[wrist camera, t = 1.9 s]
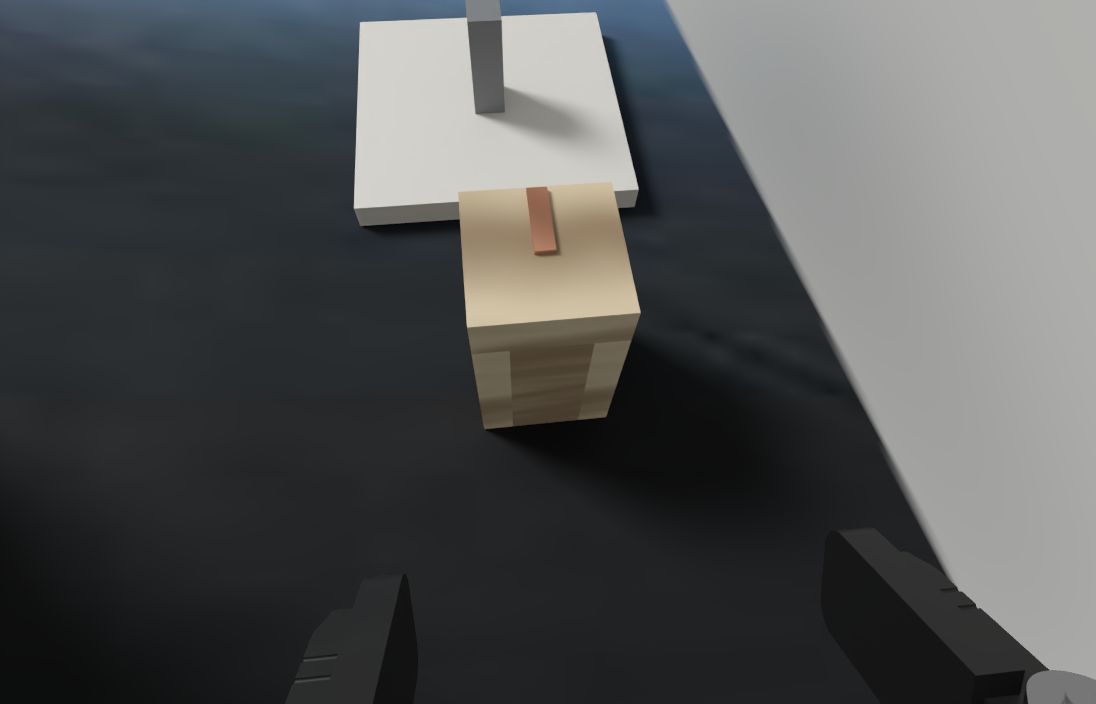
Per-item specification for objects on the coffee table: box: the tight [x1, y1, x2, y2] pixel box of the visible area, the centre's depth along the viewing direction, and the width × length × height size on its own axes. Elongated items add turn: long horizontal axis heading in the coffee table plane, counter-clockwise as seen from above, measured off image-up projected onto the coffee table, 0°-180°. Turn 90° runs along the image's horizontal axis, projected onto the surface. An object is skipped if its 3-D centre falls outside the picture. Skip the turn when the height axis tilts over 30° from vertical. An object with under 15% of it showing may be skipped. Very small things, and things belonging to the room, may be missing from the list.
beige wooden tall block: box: [458, 182, 640, 429], centre depth 27 cm, size 6×6×10 cm
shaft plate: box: [354, 0, 639, 226], centre depth 36 cm, size 16×16×8 cm
